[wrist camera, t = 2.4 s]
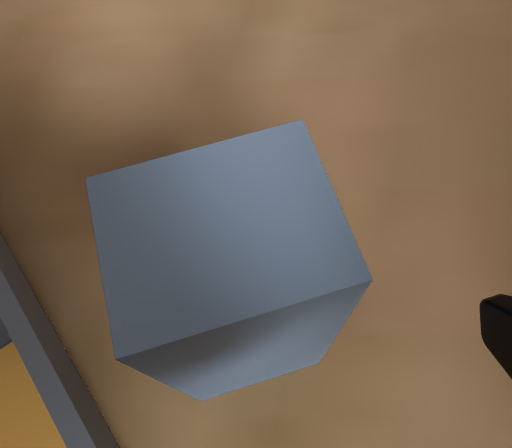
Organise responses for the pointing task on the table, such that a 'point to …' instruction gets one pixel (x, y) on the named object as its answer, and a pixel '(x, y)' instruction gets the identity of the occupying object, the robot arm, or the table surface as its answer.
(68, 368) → the rack
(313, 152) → the panel block
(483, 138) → the table surface
